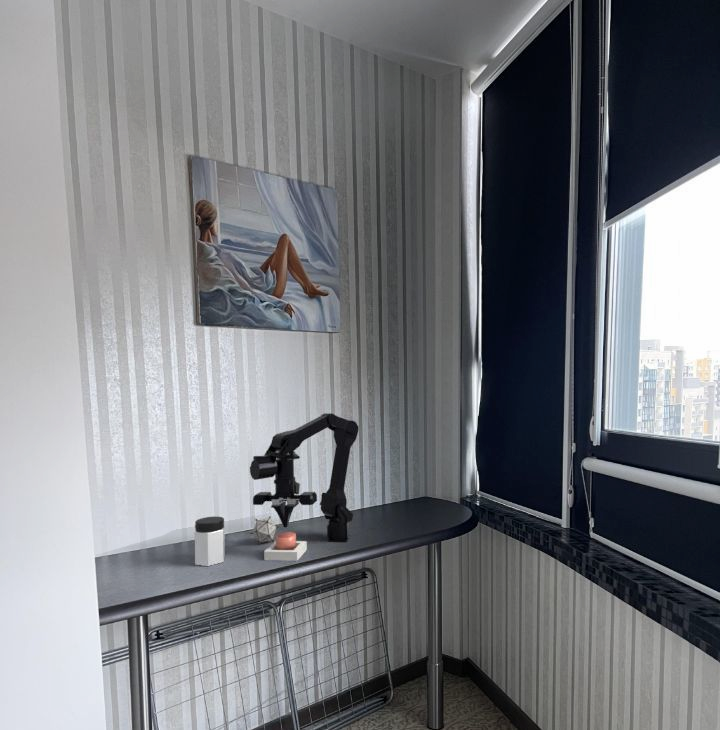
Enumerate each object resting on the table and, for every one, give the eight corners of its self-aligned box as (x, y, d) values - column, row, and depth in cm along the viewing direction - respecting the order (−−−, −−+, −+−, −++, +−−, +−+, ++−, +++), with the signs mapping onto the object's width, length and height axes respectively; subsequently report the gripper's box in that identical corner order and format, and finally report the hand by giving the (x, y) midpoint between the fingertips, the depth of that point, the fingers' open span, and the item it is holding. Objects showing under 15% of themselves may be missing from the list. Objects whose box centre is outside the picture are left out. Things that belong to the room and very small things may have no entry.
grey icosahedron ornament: (259, 555, 151) (239, 531, 151) (274, 538, 158) (256, 515, 159) (273, 546, 146) (254, 521, 147) (289, 529, 154) (270, 505, 154)
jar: (198, 557, 140) (197, 517, 141) (225, 555, 141) (225, 515, 142) (192, 568, 131) (192, 525, 132) (222, 565, 132) (222, 522, 133)
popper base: (306, 549, 144) (306, 541, 144) (297, 560, 134) (297, 552, 134) (276, 548, 145) (275, 540, 146) (264, 560, 136) (264, 551, 136)
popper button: (298, 544, 142) (298, 531, 142) (292, 550, 136) (292, 537, 137) (279, 543, 143) (279, 531, 143) (273, 550, 137) (272, 536, 138)
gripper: (320, 470, 148) (322, 520, 147) (265, 471, 151) (266, 519, 150) (311, 476, 137) (312, 530, 136) (251, 477, 140) (252, 529, 139)
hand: (285, 527), depth 140 cm, fingers closed
